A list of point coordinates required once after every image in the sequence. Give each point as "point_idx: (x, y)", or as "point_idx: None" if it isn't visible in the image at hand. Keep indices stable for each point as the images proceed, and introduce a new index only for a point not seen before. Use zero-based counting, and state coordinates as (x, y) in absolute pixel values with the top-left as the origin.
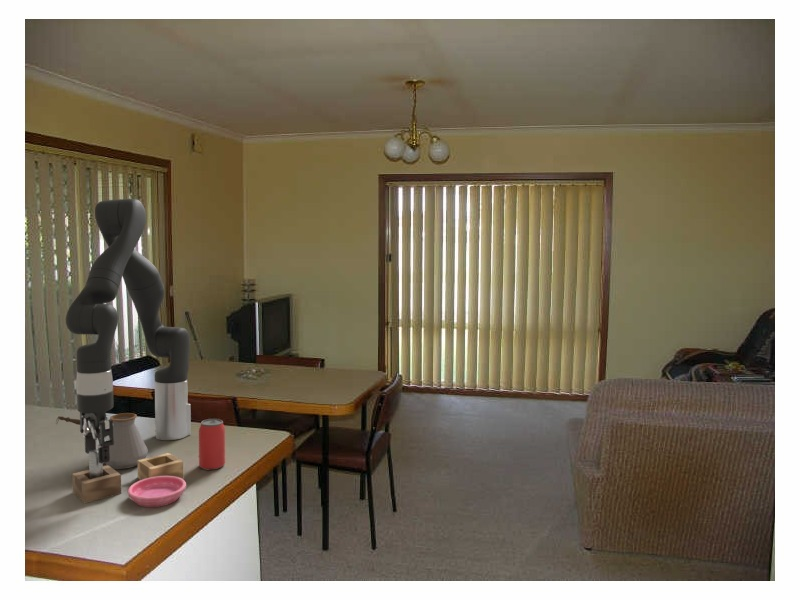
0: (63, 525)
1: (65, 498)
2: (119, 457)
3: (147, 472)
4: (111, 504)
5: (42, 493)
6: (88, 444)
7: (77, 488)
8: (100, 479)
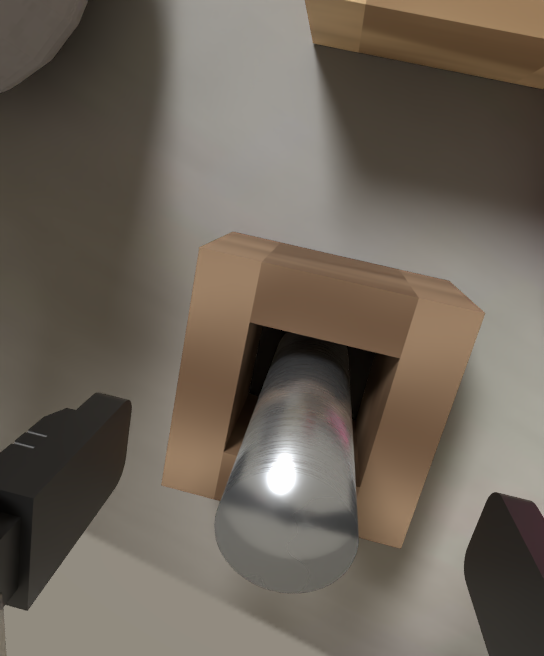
0: None
1: None
2: (34, 21)
3: (531, 56)
4: (536, 407)
5: None
6: (75, 518)
7: None
8: (426, 451)
